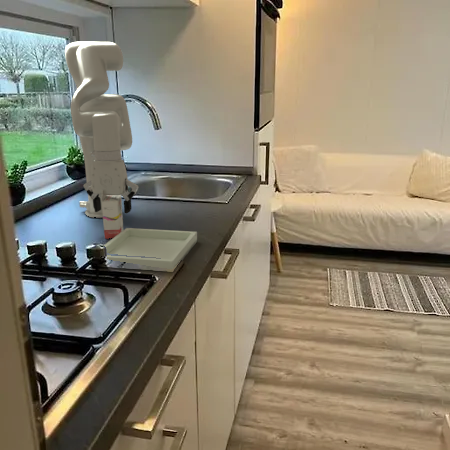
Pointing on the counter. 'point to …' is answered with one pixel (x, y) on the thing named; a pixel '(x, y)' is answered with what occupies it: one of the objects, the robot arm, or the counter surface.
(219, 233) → the counter surface
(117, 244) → the sage tray
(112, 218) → the ink cartridge box
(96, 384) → the counter surface
